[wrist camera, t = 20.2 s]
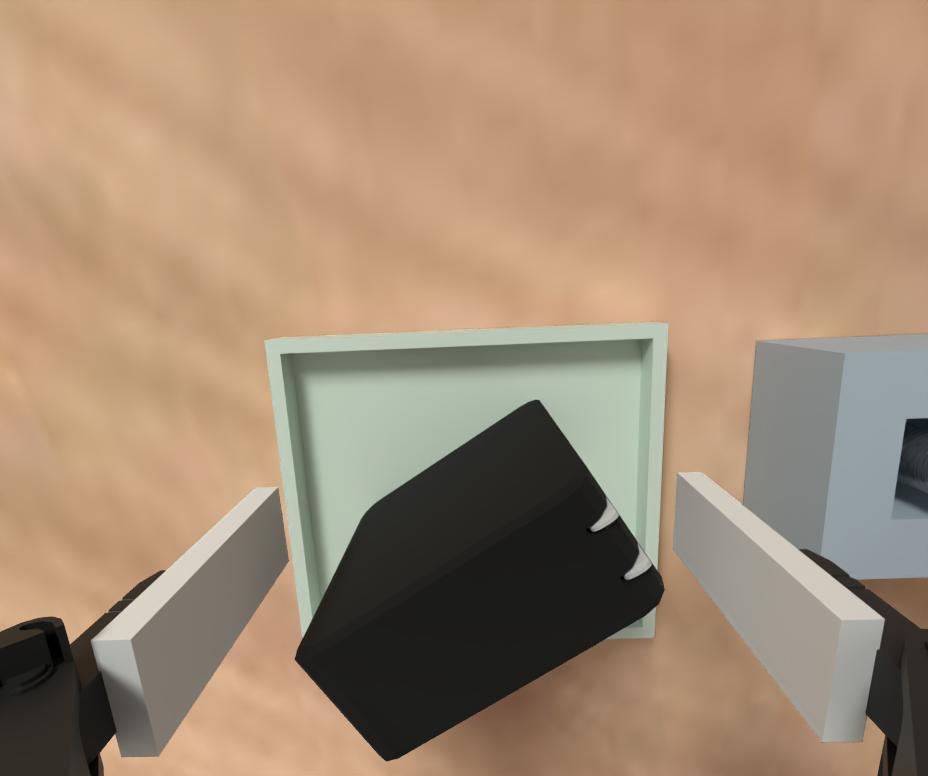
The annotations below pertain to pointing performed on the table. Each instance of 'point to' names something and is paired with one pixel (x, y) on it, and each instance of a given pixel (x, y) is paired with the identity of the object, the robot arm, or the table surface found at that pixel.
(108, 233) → the table surface
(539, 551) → the electronic device
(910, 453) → the cylinder
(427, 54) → the table surface
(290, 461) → the tray
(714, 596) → the robot arm
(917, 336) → the square hole cube
